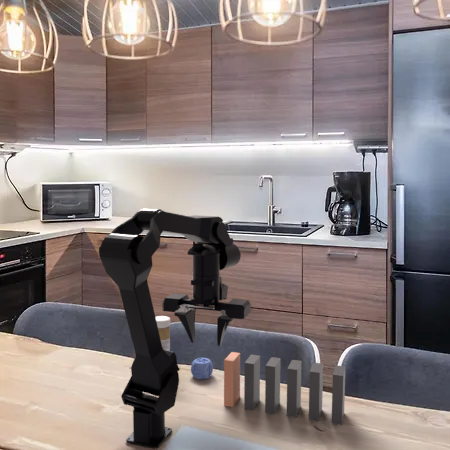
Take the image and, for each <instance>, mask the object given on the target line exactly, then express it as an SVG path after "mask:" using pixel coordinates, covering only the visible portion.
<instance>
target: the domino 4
mask: <svg viewBox="0 0 450 450" xmlns="http://www.w3.org/2000/svg"><path fill="white" fill-rule="evenodd" d="M286 370H287V371H286V373H287V374H286V380H287V381H286V416H287V417H292V418H297V416H298V415H299V411H300V410H301V407H302V401H301V400H302V399H301V398H302V360H299V359H298V360H297V359H291V361H290V363H289V365H288V366H287V369H286Z"/></svg>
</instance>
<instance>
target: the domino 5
mask: <svg viewBox="0 0 450 450" xmlns="http://www.w3.org/2000/svg"><path fill="white" fill-rule="evenodd" d="M308 380H309V386H308V387H309V388H308V389H309V390H308V420H309V421H315V422H320V418H321V415H322V412H323V392H324V391H323V390H324V389H323V386H324V383H323V382H324V363H320V362H313V363H312V365H311V368H310V370H309V379H308Z"/></svg>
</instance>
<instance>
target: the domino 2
mask: <svg viewBox="0 0 450 450" xmlns="http://www.w3.org/2000/svg"><path fill="white" fill-rule="evenodd" d="M243 382H244V387H243V389H244V390H243V391H244V394H243V395H244V398H243V399H244V400H243V404H244V407H243V409H244V410H248V409H249V411H254V410H255V408H257V406H258V403H260V398H261V394H260V393H261V391H260V389H261V387H260V386H261V383H260V382H261V355H258V354H257V355H256V354H250V355H249V357H248V358H247V359H246V360H245V362H244V381H243Z"/></svg>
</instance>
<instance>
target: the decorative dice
mask: <svg viewBox="0 0 450 450" xmlns="http://www.w3.org/2000/svg"><path fill="white" fill-rule="evenodd" d="M213 371H214V364H213V362H212V361H211V359H209V358H207V357H198V358H195V359H194V360H193V361H192V362H191V366H190V372H191V375H192V376H193V378H195V379H196V380H202V381H203V380H208V379H209V378H211V376H212V374H213V373H214V372H213Z"/></svg>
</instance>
